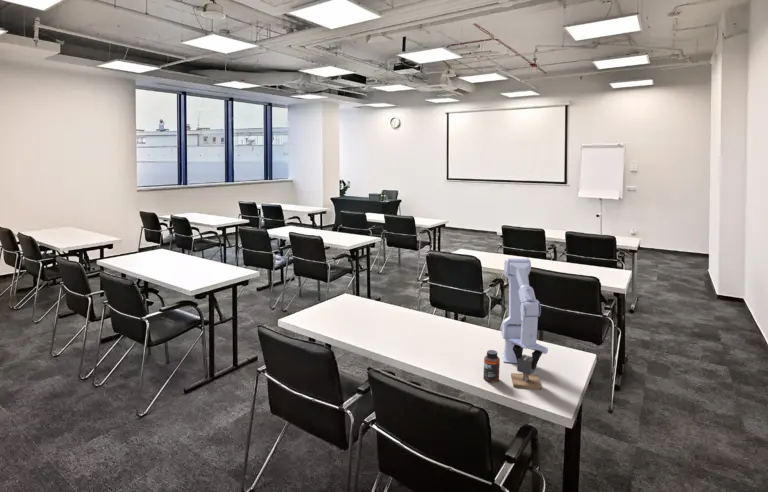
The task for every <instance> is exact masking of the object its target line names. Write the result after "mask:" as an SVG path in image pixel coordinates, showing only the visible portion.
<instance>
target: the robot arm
mask: <svg viewBox="0 0 768 492" xmlns="http://www.w3.org/2000/svg"><path fill="white" fill-rule="evenodd" d="M503 266H504V270H503V272H504V273H503V274H504V277H505V278H507V279H508V317H506V318H504V319H503V321H502V322H501V330H500V331H501V333H500V334H501V338H502V339H504V352H502V353H501V355H502V360H503V361H502V362H503V363H507V364H508V363H509V364H511V363H512V364H516V365H518V358H519V357H521V356H522V355H523V350H527V349H528V350H532V351H533V352H531V357H532V360H533V362H532V369H533V370H534V369H535V368H537V365H538V362H539V360H540V358H541V356H542V355H547V354H548V351H549V347H546V346H543V345H542V344H539V343H538V342H537V338H538V336H537V335H538V334H537V333H538V322H539V321H538V320H539V317H540V316H541V313H542V309H541V308H542V305H541V304H540V303H541V302H540V301H539V300H538V299H536V295H535V291H534V288H533V287H532V286H530V280H529V275H530V272H531V270H532V262H531V259H530V258H527V257H526V258H509V257H507V258H506V259H504V264H503Z"/></svg>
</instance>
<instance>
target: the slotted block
mask: <svg viewBox="0 0 768 492" xmlns="http://www.w3.org/2000/svg"><path fill="white" fill-rule="evenodd" d="M532 362H533V360H532V355H531V356H530V355H527V354H522V356H521V357H519V358H518V364H516V365H517V368H516V369H517V370H516V371H517V372H518V373H521V374H523V373H526V374H529V375H533V373H534V372H536V371H537V369H536V368H537V367H536V368H535V369H534V370H533V369H532Z"/></svg>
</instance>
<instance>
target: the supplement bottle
mask: <svg viewBox="0 0 768 492" xmlns="http://www.w3.org/2000/svg"><path fill="white" fill-rule="evenodd" d="M483 358H484V359H483V379H484V380H485V381H486V382H489V383H490V382H491V383H496V382H498V381H499V379H500V364H501V361H500V360H501V359H500V357H499V356H498V351H497V350H494V349H489V350H486V355H484V357H483Z"/></svg>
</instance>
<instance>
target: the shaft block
mask: <svg viewBox="0 0 768 492" xmlns="http://www.w3.org/2000/svg"><path fill="white" fill-rule="evenodd" d="M510 377H511V382H512V386H513V388H520V389H521V388H522V389H524V388H525V389H532V390H533V389H534V390H536V389H537V390H542V385H541V383H540V378H539V376H538V374H531V375H529V374H526V373H515V372H512V373H511V372H510Z"/></svg>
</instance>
